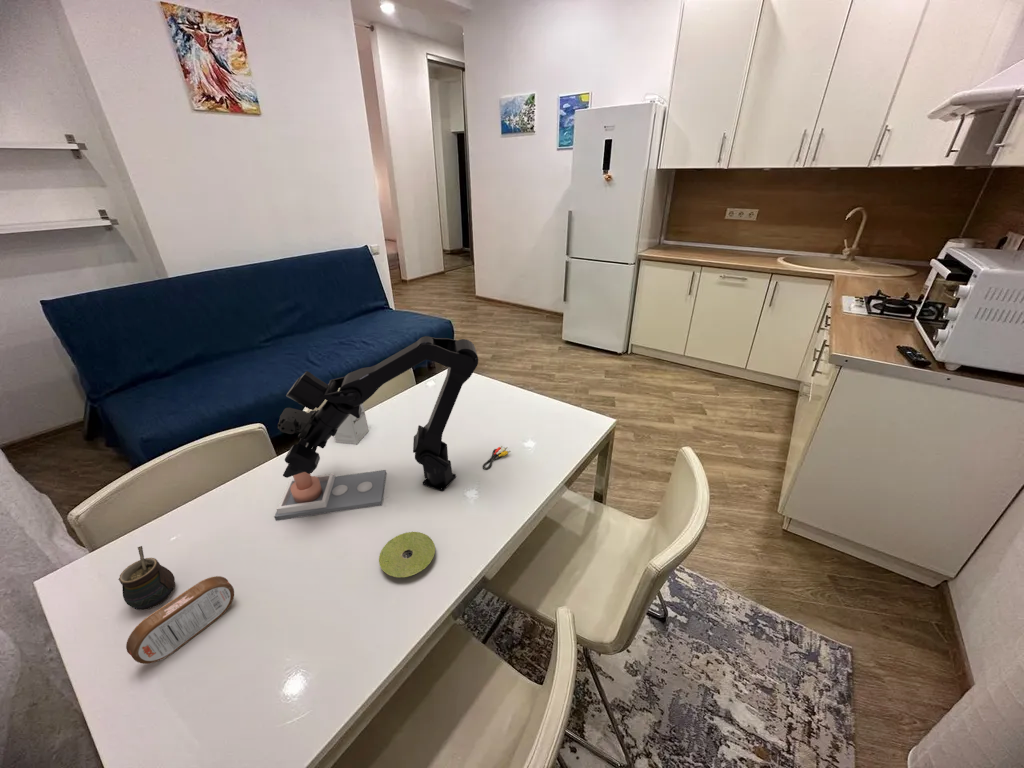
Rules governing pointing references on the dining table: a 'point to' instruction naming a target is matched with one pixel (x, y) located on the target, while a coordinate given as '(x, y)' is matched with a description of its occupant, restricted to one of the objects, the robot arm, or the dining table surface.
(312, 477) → the pink flanged peg
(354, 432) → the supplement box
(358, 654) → the dining table surface
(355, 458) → the dining table surface
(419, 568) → the green disc
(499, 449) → the composite cable
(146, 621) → the tin
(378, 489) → the station board
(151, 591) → the mate gourd
